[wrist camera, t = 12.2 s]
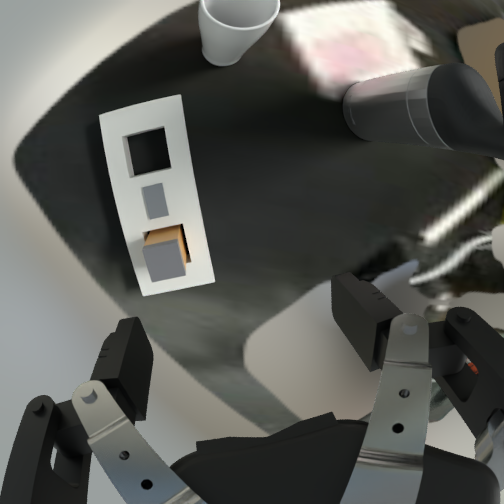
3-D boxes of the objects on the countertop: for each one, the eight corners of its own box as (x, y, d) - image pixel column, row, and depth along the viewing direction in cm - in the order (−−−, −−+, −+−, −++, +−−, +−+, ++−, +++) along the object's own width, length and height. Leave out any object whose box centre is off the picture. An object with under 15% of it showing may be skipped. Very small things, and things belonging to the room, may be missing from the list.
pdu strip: (181, 98, 32) (180, 93, 29) (213, 272, 41) (215, 283, 38) (105, 117, 31) (98, 114, 28) (145, 286, 40) (142, 297, 37)
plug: (180, 222, 38) (177, 242, 30) (186, 250, 39) (185, 275, 32) (151, 228, 37) (141, 249, 30) (158, 256, 39) (151, 282, 31)
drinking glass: (249, 72, 32) (283, 33, 18) (195, 73, 31) (198, 31, 17) (248, 28, 30) (279, -26, 16) (196, 28, 29) (200, -30, 15)
